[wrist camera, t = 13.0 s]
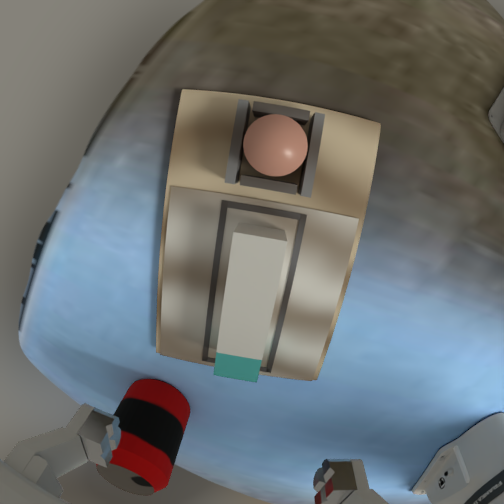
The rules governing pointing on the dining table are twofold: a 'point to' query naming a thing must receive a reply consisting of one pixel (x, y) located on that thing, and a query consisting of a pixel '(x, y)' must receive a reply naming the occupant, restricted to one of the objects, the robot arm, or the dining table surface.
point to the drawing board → (260, 214)
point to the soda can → (147, 437)
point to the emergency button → (498, 115)
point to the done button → (275, 145)
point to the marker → (249, 300)
